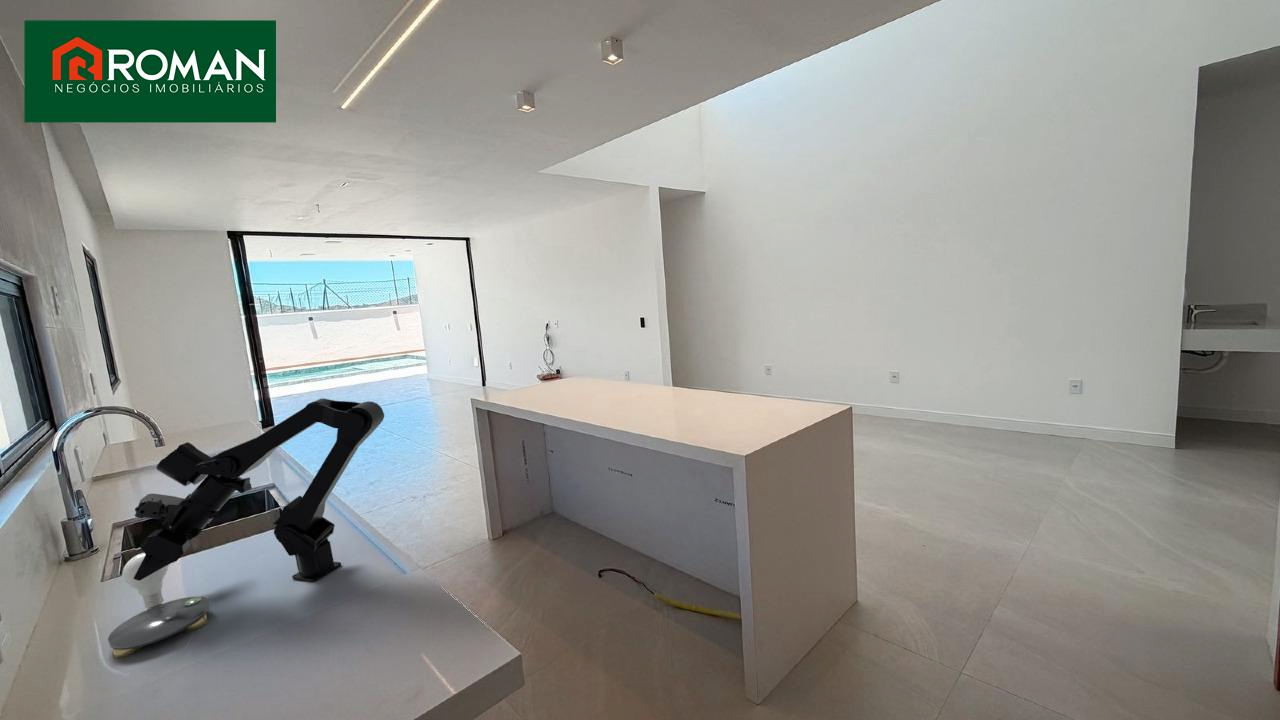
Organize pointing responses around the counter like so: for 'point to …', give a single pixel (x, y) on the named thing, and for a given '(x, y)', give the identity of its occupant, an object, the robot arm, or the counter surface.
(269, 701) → the counter surface
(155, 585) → the lightbulb
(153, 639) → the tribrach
